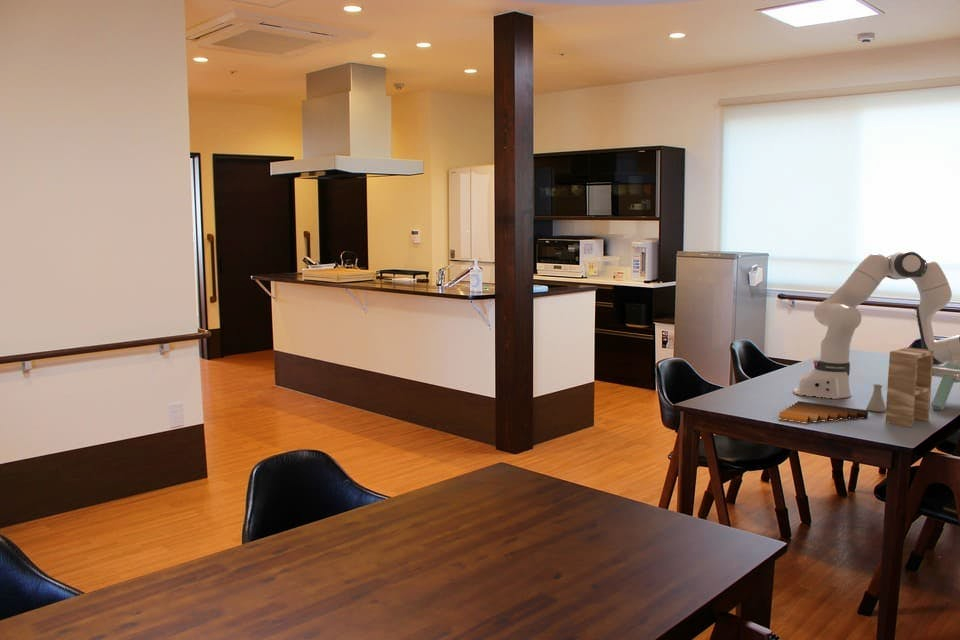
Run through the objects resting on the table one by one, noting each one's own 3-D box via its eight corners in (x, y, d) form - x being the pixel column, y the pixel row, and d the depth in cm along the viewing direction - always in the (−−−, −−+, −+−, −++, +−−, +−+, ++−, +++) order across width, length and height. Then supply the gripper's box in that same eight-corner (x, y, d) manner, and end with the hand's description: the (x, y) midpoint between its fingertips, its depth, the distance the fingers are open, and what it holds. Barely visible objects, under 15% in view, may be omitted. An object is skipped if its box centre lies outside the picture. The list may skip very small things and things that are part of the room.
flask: (862, 410, 306) (864, 384, 305) (869, 407, 311) (871, 382, 310) (882, 413, 301) (884, 387, 300) (889, 410, 306) (891, 384, 305)
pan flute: (867, 418, 296) (798, 408, 311) (868, 409, 295) (799, 400, 310) (851, 432, 276) (778, 421, 291) (852, 423, 276) (779, 412, 291)
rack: (902, 415, 297) (907, 347, 294) (928, 420, 290) (933, 350, 287) (885, 422, 288) (889, 351, 284) (911, 427, 281) (916, 354, 278)
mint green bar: (950, 368, 314) (948, 363, 312) (959, 369, 312) (957, 364, 310) (933, 409, 307) (931, 404, 306) (942, 410, 305) (940, 406, 303)
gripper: (928, 359, 322) (914, 363, 314) (985, 366, 307) (971, 371, 298) (927, 374, 323) (913, 379, 314) (984, 382, 307) (970, 387, 299)
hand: (942, 375), depth 306 cm, fingers open, 8 cm apart
